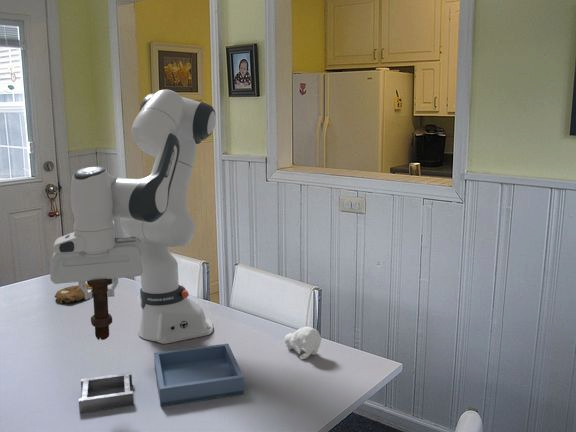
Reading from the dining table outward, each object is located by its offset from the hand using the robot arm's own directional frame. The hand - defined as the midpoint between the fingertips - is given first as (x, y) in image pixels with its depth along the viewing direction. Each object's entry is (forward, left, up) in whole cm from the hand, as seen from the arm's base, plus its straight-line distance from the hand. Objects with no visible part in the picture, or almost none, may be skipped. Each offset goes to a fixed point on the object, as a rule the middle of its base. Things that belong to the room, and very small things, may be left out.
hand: (100, 297), depth 133 cm
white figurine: (-52, -10, -26) cm, 59 cm away
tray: (-22, -2, -26) cm, 34 cm away
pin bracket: (0, 0, -26) cm, 26 cm away
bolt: (0, 0, -10) cm, 10 cm away
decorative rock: (+11, -76, -26) cm, 82 cm away
